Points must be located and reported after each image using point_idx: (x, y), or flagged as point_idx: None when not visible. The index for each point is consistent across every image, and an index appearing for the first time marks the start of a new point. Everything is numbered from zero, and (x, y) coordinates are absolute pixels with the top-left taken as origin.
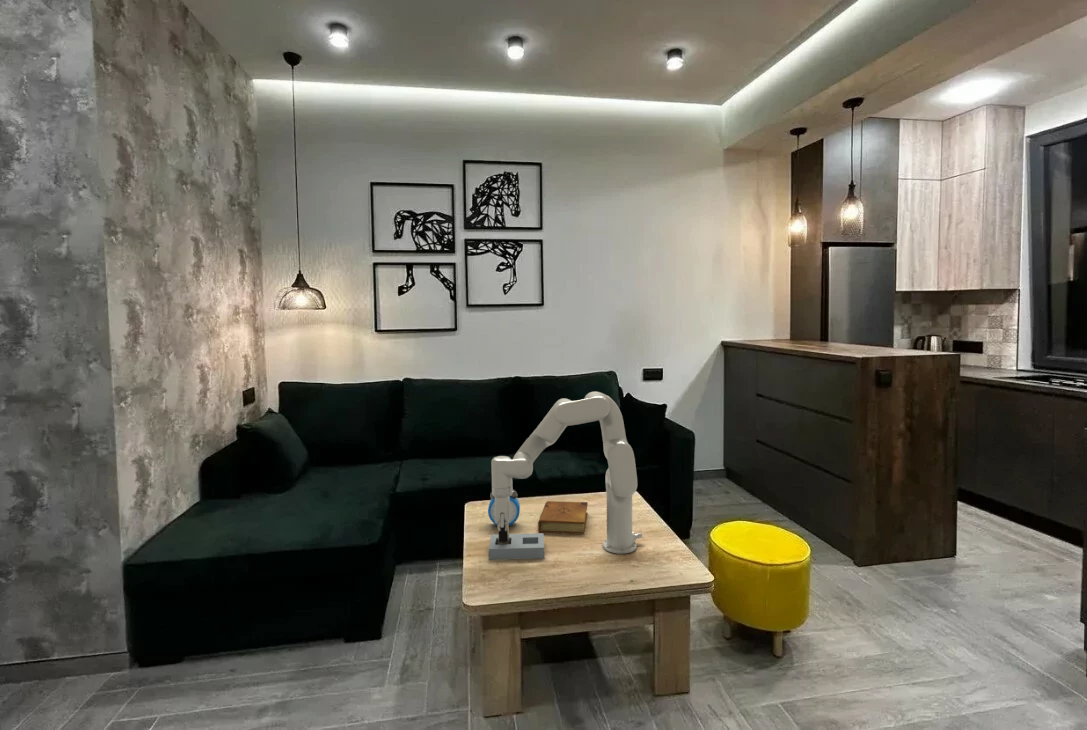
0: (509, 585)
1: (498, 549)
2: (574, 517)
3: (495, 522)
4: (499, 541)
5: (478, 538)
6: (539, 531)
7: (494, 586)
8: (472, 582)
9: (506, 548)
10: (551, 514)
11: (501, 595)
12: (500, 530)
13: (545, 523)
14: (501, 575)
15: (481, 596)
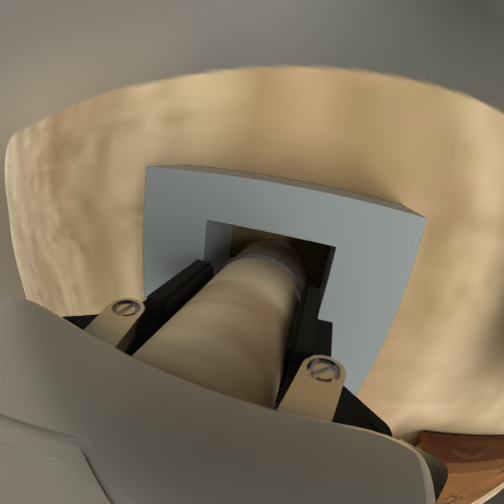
0: (38, 234)
1: (147, 233)
2: None
3: (2, 303)
4: (228, 262)
5: (499, 145)
6: (422, 435)
7: (34, 191)
8: (51, 119)
9: (144, 284)
10: (443, 489)
11: (16, 209)
12: (119, 314)
13: None
14: (70, 217)
15: (15, 159)
